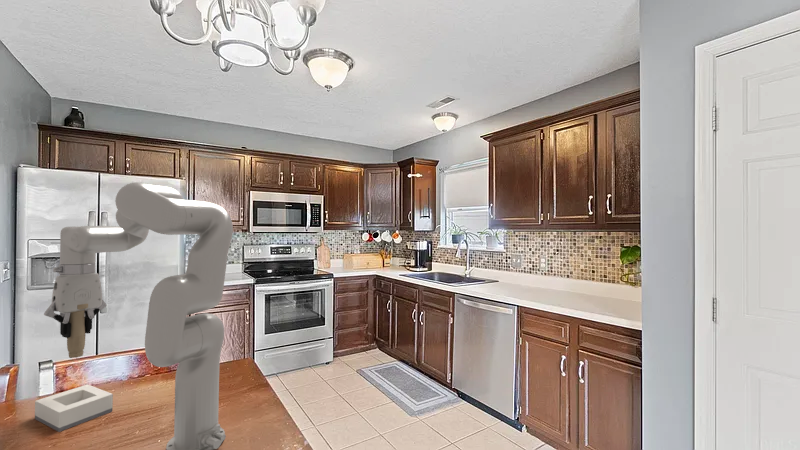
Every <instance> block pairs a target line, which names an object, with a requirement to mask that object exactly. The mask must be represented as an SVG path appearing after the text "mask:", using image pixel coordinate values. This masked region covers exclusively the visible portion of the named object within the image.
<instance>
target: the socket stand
mask: <svg viewBox="0 0 800 450" xmlns="http://www.w3.org/2000/svg"><path fill="white" fill-rule="evenodd" d="M113 397H114V394H113V393H111V392H108V391H106V390H104V389H100V388H98V387H96V386H93V385H91V384H88V383H87V384H85V385H81V386H78V387H75V388H71V389H69V390H65V391H63V392H59V393H56V394H52V395H49V396H46V397H43V398H39V399H37V400H34V420H35V421H38V422H40V423H41V424H44V425H45V426H46V427H47V426H48V427H49V428H51V429H52V430H54V431H56V432H58V433H60V432H62V431H65V430H68V429H70V428H73V427H76V426H78V425H80V424H83V423H86V422H89V421H91V420H93V419H96V418H99V417H102V416H105V415H106V414H109V413H112V412H113V405H114V403H113V402H114V401H113V399H114V398H113Z"/></svg>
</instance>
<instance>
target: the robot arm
mask: <svg viewBox="0 0 800 450" xmlns="http://www.w3.org/2000/svg"><path fill="white" fill-rule="evenodd" d="M115 207H116V209H117V210H116V212H115V220H116V223H117V224H118V225H82V226H81V225H80V226H65V227H62V228H61V230H60V234H59V235H60V237H59V238H60V241H59V264H58V266H56V267H53V268H52V272H53V273H57V274H58V275H57V276H56V278H55V281H54V285H53V288H52V289H53V290H52V295H51V304H50V305H49V306H48V308H47V309H46V310H45V311H44V313H43V315H44V316H45V317H48V318H51V319H54V320H55V321H57V322H58V323H60V329H59V330H60V331H59V333H60V336H62V337H63V338H66V339H67V338H69V337H71V323H69V317H70V313H71V312H76V311H82V310H85V313H84V316H85V334H91V330H92V329H93V319H94V318H95V316H96V315H97V314H98V313H99V312H100V311H102V310H103V309H105V308H106V307H107V303H106V302H105V301H104V300H103V292H102V284H101V283H102V282H101V278H100V274H99V273H98V272H97V273H96V254H100V253H101V254H102V253H117V252H118V253H119V252H125V251H128V250H131V249H133V248H135V247H137V246H138V245H141V244H142V243H143V242H145V241H146V240H147V236H148V235H149V232H150V231H152V232H155V233H157V234H161V235H168V236H173V235H174V236H175V235H176V236H177V235H180V236H182V235H183V236H185V235H188V236H189V235H198V236H199V237H198V238H197V240H196V241H195V242H194V244H193V245H192V247H191V249H190V250H189V254H188V258H187V266H186V270H185V273H182V274H175V275H170V276H167V277H165V278H162V279H161V280H159V282H157V283H156V285H155V286H154V287H153V289H152V291H151V294H150V298H149V303H148V310H147V319H146V328H145V334H144V335H145V337H144V351H145V352H144V353H145V356H146V358H147V361H149V363H150V364H151V365H153V366H155V367H156V368H157V367H158V368H166V367H170V366H171V367H172V366H174V365H176V364H178V365H177V368H176V371H175V379H174V380H175V381H174V419H173V421H174V427H173V429H174V430H173V432H174V433H173V437H172V438H170V439H169V440H168V442H167V444H166V446H165V450H217V449H219V447H221V444H222V443H223V441H225V440H226V437H227V436H226V434H225V433H226V432H225V429H224V428H222V426H221V424H220V423H219V408H220V407H219V399H220V397H219V396H220V395H219V394H220V362H221V360H220V359H221V354H222V347H223V343H224V338H225V325H224V323H223V321H222V319H220V317H219V316H217V315H216V314H213V313H207V312H206V313H201V312H205V311H208V310H212V309H214V308H215V307H217V306H218V305H219V304H220V303H221V301H222V298H223V294H224V289H225V288H224V287H225V278H226V271H227V263H228V261H227V260H228V254H229V250H230V245H231V242H232V238H233V233H234V232H233V231H234V228H233V227H234V226H233V221H232V218H231V216H230V214H229V213H228V212H227V210H226V209H225V208H224V207H222V206H221V205H219V204H216V203H214V202H209V201H205V200H194V199H184V197H183V195H182V194H181V193H180V192H179V190H177V189H175V188H173V187H171V186H166V185H161V184H160V185H159V184H154V183H152V184H151V183H146V182H145V183H144V182H130V183H127V184H125V185H124V186H122V187H121V188H120V189H119V190H118V192H117V193H116V196H115ZM81 304H88V308H86V309H82V310H79V309H77V305H81ZM56 312H59V314H58V313H56Z"/></svg>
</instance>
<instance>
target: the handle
mask: <svg viewBox="0 0 800 450" xmlns="http://www.w3.org/2000/svg"><path fill="white" fill-rule="evenodd" d="M86 308H88V304H81V305H77V309H79V310H82V309H86ZM84 313H85V310H82V311H76V312H71V313H70V317H69V323H71V337H69V338H66V348H67V353H68V358H70V359H73V358H76V359H77V358H79V357H83V355H84V353H85V352H84V350H85V345H86V333H85V316H84Z"/></svg>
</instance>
